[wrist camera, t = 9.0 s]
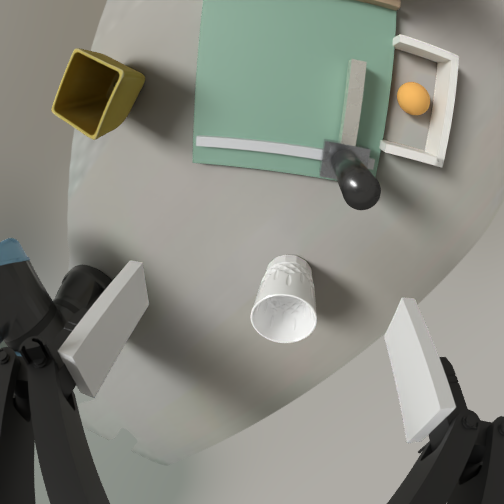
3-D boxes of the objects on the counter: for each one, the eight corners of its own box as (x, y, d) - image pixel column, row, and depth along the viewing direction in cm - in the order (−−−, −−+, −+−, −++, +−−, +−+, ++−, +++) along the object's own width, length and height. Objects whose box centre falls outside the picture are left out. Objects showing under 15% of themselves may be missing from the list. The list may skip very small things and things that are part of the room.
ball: (398, 111, 30) (391, 108, 27) (402, 81, 28) (395, 76, 25) (429, 120, 28) (425, 118, 25) (433, 89, 26) (429, 84, 23)
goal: (376, 146, 32) (385, 152, 29) (390, 39, 25) (400, 34, 22) (429, 160, 31) (442, 167, 28) (444, 58, 24) (459, 56, 21)
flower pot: (91, 103, 34) (49, 112, 27) (116, 50, 30) (74, 47, 22) (134, 129, 36) (94, 141, 28) (163, 73, 31) (125, 71, 24)
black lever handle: (318, 171, 33) (325, 210, 22) (333, 58, 26) (349, 36, 16) (360, 178, 33) (385, 221, 22) (377, 67, 26) (415, 54, 15)
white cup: (252, 280, 45) (239, 325, 36) (279, 240, 41) (271, 283, 32) (297, 303, 45) (293, 351, 37) (326, 267, 41) (330, 313, 33)
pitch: (195, 160, 37) (188, 165, 34) (208, -13, 25) (201, -20, 22) (371, 184, 35) (375, 191, 32) (393, 6, 22) (400, 0, 20)
